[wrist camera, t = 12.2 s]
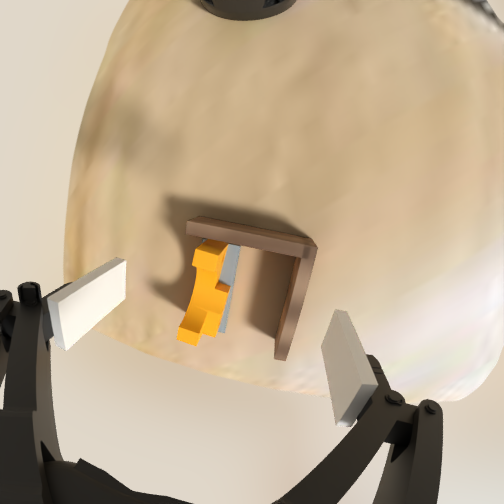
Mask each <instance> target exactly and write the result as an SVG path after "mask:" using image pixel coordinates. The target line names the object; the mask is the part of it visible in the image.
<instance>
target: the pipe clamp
mask: <svg viewBox="0 0 504 504" xmlns="http://www.w3.org/2000/svg"><path fill="white" fill-rule="evenodd" d="M228 244H229V243H226V242H222V241H217V240H212V239H207V240H206V241H205V242H204V243H202V244H201V245H200V246H198V247H197V248H196V249H195V254H194V258H193V262H192V266H195V267H197V274H196V281H195V286H194V290H193V294H192V297H191V300H190V303H189V306H188V309H187V311H186V314H185V316H184V319H183V321H182V323H181V324H180V326H179V329H178V335H177V340H180V341H183V342H185V343H188V344H191V345H194V346H197V344H198V341H199V339H200V337H201V335H202V333H203V334H206V335H209V336H212V337H215V336H216V334H217V331H218V329H219V326H220V323H221V319H222V316H223V312H224V309H225V305H226V302H227V298H228V294H229V291H230V287H231V286H228V285H225V284H222V283H219V278H220V274H221V270H222V267H223V263H224V259H225V255H226V252H227V248H228Z"/></svg>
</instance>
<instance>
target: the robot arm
mask: <svg viewBox="0 0 504 504" xmlns="http://www.w3.org/2000/svg"><path fill="white" fill-rule="evenodd" d="M201 2H202V4H203V6H204V7H205V8H206V9H207V10H208V11H209V12H211V13H212V14H214V15H217V16H219V17H222V18H226V19H231V20H242V21H247V20H258V19H264V18H268V17H272V16H275V15H277V14H280V13H282V12H284V11H285V10H287V9H288V8H290V7H291V6H292V5H293V4H294V3H295V2H296V0H201ZM125 284H126V260H124V259H121V258H117V257H116V258H114V259H113V260H111V261H109V262H107V263H105V264H104V265H102V266H100V267H98V268H97V269H95V270H93V271H91V272H90V273H88V274H86V275H84V276H83V277H81V278H79V279H78V280H76V281H74V282H70V283H67V284H64V285H63V286H61V287H60V288H58V289H56V290H55V291H53V292H51V293H49V294H48V295H46V296H44V297H43V298H42V297H41V290H40V285H39V284H38V283H36V282H25V283H22V284H20V285H19V286H18V295H19V300H20V302H17V301H13V298H12V293H11V292H10V291H7V290H0V387H1V384H2V381H3V379H4V376H5V374H6V378H5V389H4V404H3V410H1V409H0V504H192V503H189V502H185V501H181V500H178V499H175V498H171V497H168V496H161V495H153V494H146V493H141V492H135V491H132V490H130V489H129V488H127V487H126V486H125V485H123V484H122V483H120V482H119V481H118V480H116V479H115V478H113V477H112V476H111V475H109V474H108V473H107V472H105V471H104V470H102V469H99V468H97V467H96V466H94V465H92V464H90V463H88V462H86V461H84V460H82V459H81V458H80V459H79V461H78V462H77V463H73V462H69V461H64V460H63V458H62V456H61V453H60V449H59V444H58V439H57V432H56V425H55V418H54V410H53V401H52V389H51V364H50V363H51V361H50V347H51V346H50V341H49V339H50V338H52V337H53V336H54V340H55V345H56V346H58V347H60V348H61V349H63V350H65V351H66V350H68V349H69V348H70V347H71V346H72V345H73V344H74V343H75V342H76V341H78V340H79V339H80V338H81V337H82V336H83V335H84V334H85V333H86V332H88V331H89V330H90V329H91V328H92V327H93V326H94V325H95V324H97V323H98V322H99V321H100V320H101V319H102V318H103V317H104V316H106V315H107V314H108V313H109V312H110V311H111V310H113V309H114V308H115V307H116V306H117V305H118V304H119V303H121V302H122V301H123V300H124V299H125ZM321 349H322V354H323V358H324V363H325V368H326V373H327V379H328V384H329V389H330V395H331V400H332V406H333V411H334V417H335V423H336V426H346V427H351V426H352V425H353V423H354V422H355V421H356V419H357V421H358V422H357V423H356V425H355V426H354V427H353V428H352V429H351V430H350V432H349V433H348V434H347V435H346V436H345V437H344V438H343V440H342V441H341V442H340V443H339V444H338V445H337V446H336V447H335V448H334V449H333V451H332V452H330V454H328V456H327V457H326V458H325V459H324V460H323V461H322V462H321V463H320V464H319V465H317V466H316V468H314V469H313V470H312V471H311V472H310V473H309V474H308V475H307V476H306V477H305V478H304V479H303V480H301V482H299V483H298V484H297V485H296V486H295V487H293V488H292V489H291V490H290V491H289V492H288V493H286V494H285V495H284V496H283V497H281V498H280V499H279V500H277V501H275V502H273V503H272V504H337V503H338V502H339V501H340V499H341V498H342V497H343V496H344V495H345V493H346V492H347V491H348V490H349V489H350V488H351V486H352V485H353V484H354V482H355V481H356V480H357V479H358V477H359V476H360V475H361V474H362V472H363V471H364V470H365V468H366V467H367V465H368V464H369V463H370V461H371V460H372V458H373V457H374V455H375V454H376V453H377V451H378V450H379V448H380V447H381V445H382V443H383V442H386V443H390V444H391V445H390V449H389V453H388V457H387V460H386V464H385V467H384V471H383V474H382V477H381V481H380V484H379V487H378V490H377V493H376V496H375V498H374V501H373V504H437V499H438V492H439V485H440V476H441V465H442V464H441V463H442V446H443V412H442V408H441V407H440V405H439V404H438V403H436V402H435V401H432V400H428V399H426V400H423V401H421V403H420V404H419V405H418V406H414V405H410V404H407V403H405V399H404V398H403V396H402V395H401V394H400V393H398V392H396V391H394V390H391V388H390V386H389V383H388V381H387V379H386V376H385V374H384V372H383V370H382V369H381V365H380V363H379V361H378V360H377V359H376V358H375V357H374V356H373V355H367V354H365V351H364V349H363V347H362V344H361V342H360V340H359V337H358V335H357V333H356V331H355V328H354V326H353V324H352V322H351V319H350V317H349V315H348V313H347V311H342V310H337V309H335V311H334V314H333V317H332V319H331V322H330V325H329V327H328V330H327V333H326V335H325V338H324V340H323V343H322V345H321Z"/></svg>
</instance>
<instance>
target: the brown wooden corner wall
mask: <svg viewBox="0 0 504 504" xmlns="http://www.w3.org/2000/svg"><path fill="white" fill-rule="evenodd" d="M185 234H188V235H193V236H198V237H203V238H207V239H212V240H217V241H222V242H227V243H232V244H237V245H242V246H246V247H251V248H256V249H261V250H266V251H271V252H275V253H280V254H285V255H290V256H295V257H296V259H295V263H294V267H293V272H292V276H291V280H290V284H289V288H288V292H287V296H286V299H285V303H284V307H283V311H282V315H281V319H280V322H279V326H278V330H277V333H276V337H275V352H274V359H276V360H282V361H286V358H287V355H288V352H289V349H290V346H291V343H292V339H293V336H294V333H295V330H296V326H297V323H298V319H299V316H300V313H301V309H302V306H303V302H304V299H305V295H306V291H307V288H308V284H309V280H310V277H311V273H312V269H313V265H314V261H315V257H316V253H317V249H318V247H317V246H316V244H315V243H314V241H313V240H312V239H309V238H305V237H300V236H295V235H291V234H286V233H281V232H276V231H272V230H267V229H262V228H257V227H252V226H247V225H242V224H237V223H232V222H227V221H222V220H217V219H211V218H206V217H201V216H198V217H196V218H193V219H191V220H188V221H187V225H186V232H185Z"/></svg>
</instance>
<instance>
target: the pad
mask: <svg viewBox="0 0 504 504" xmlns="http://www.w3.org/2000/svg"><path fill="white" fill-rule="evenodd" d="M206 240H207V239H205V238H203V240H202V243H204V242H205V241H206ZM239 252H240V246H239V245H234V244H228V248H227V252H226V255H225V259H224V263H223V267H222V270H221V274H220V278H219V283H222V284H225V285H228V286H231V287H230V291H229V294H228V298H227V302H226V305H225V309H224V312H223V316H222V319H221V323H220V326H219V329H218V332H222V333H225V329H226V324H227V318H228V312H229V307H230V301H231V296H232V290H233V284H234V279H235V273H236V268H237V263H238V257H239Z"/></svg>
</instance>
